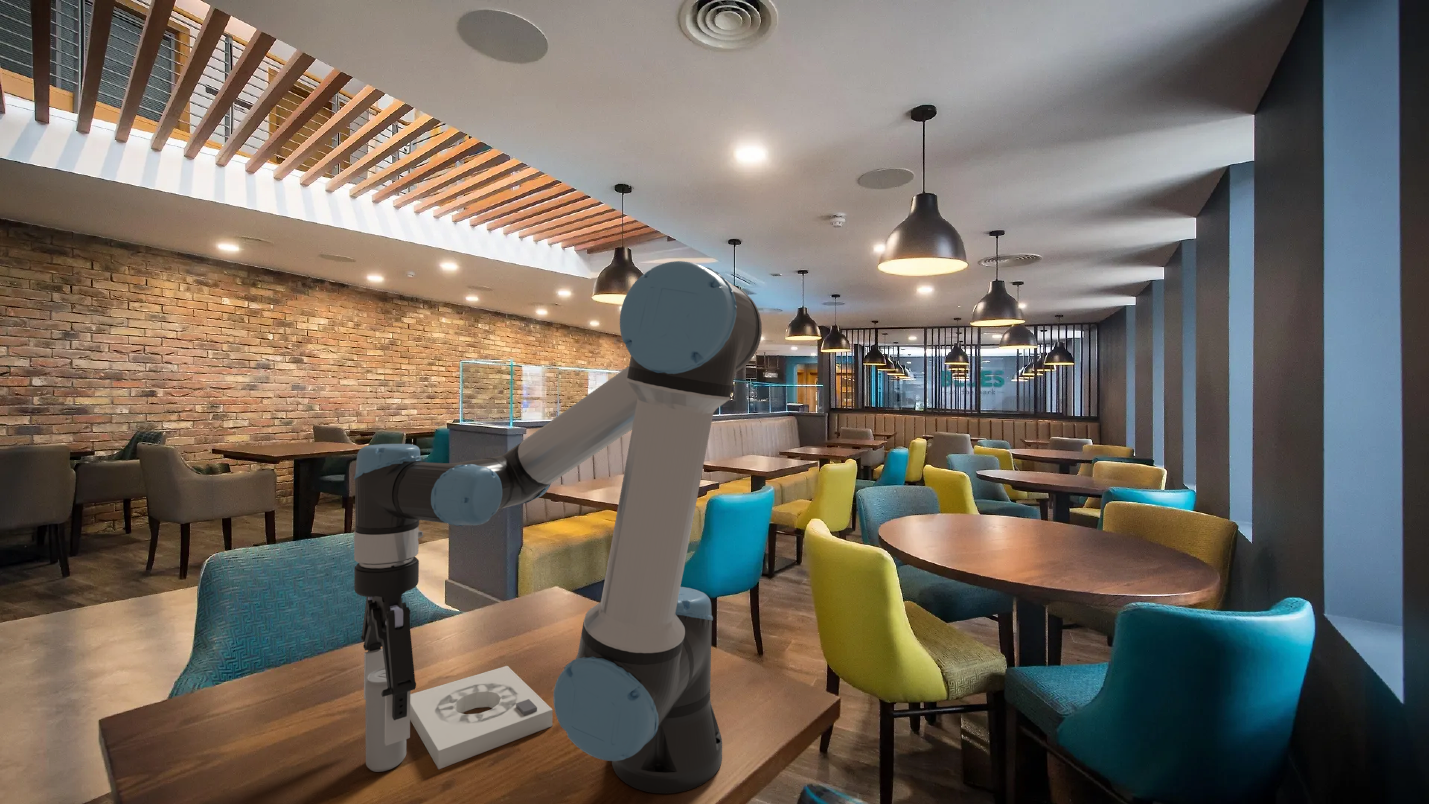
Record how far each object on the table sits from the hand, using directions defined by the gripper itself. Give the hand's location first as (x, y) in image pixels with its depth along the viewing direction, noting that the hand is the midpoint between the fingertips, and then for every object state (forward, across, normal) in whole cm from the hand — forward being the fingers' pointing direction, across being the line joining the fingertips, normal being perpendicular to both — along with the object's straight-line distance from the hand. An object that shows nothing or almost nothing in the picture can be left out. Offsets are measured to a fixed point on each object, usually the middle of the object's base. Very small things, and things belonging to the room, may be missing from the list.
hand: (385, 717), depth 78 cm
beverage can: (+6, 0, 0) cm, 6 cm away
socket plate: (+6, +3, -13) cm, 15 cm away
